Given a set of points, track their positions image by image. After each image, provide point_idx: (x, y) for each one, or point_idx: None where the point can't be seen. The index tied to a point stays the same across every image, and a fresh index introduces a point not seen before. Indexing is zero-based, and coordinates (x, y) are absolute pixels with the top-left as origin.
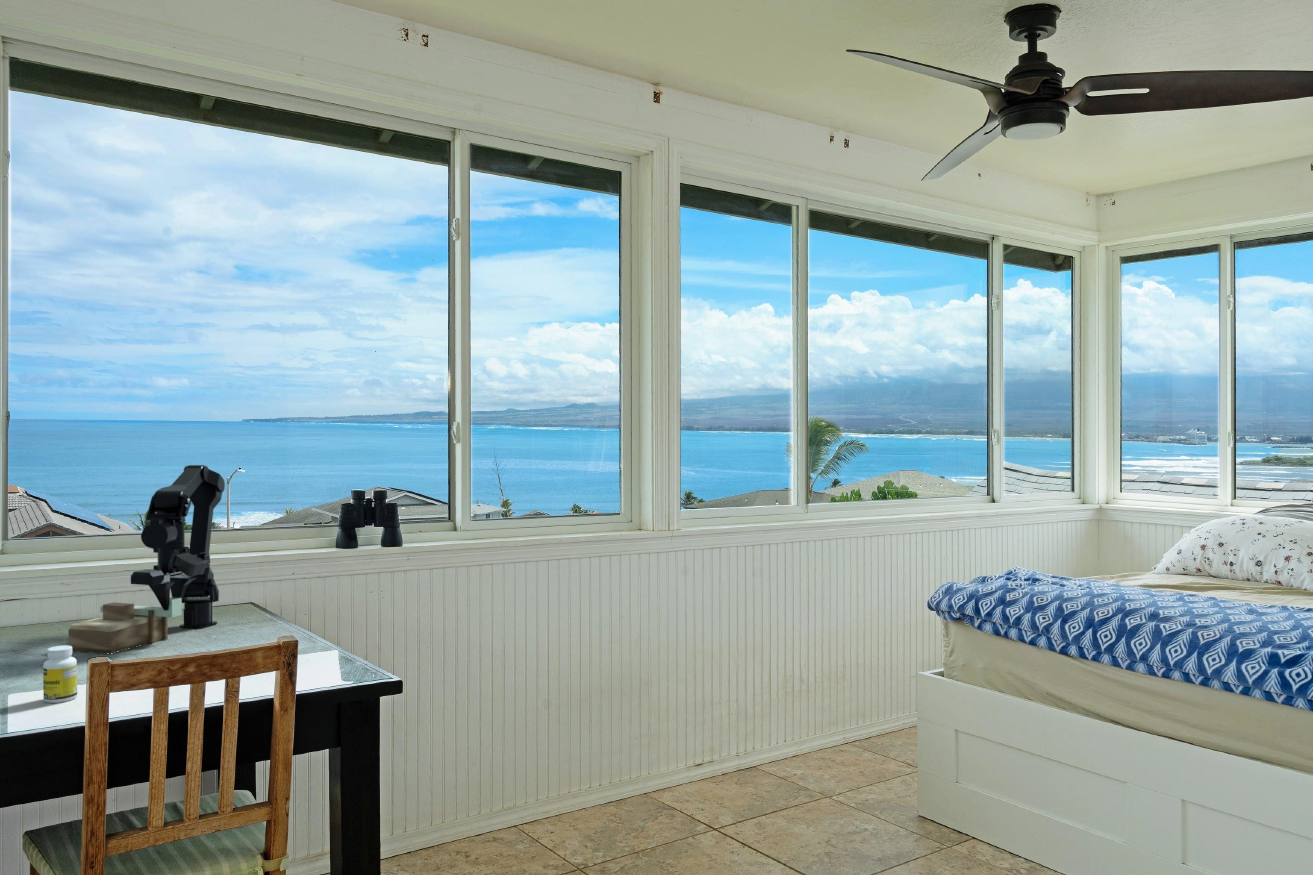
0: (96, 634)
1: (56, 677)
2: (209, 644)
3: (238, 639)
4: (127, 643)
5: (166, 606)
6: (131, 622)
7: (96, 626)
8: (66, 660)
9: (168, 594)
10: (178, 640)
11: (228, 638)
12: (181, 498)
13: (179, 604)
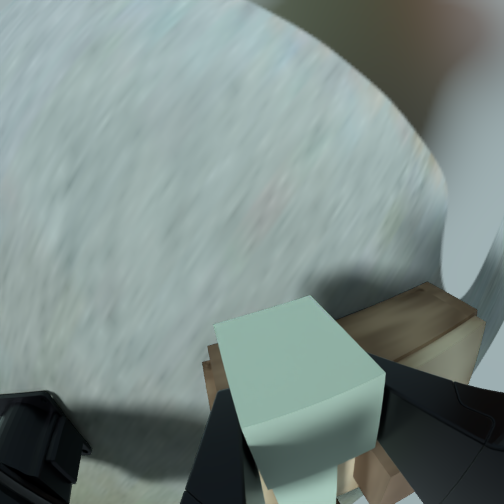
0: None
1: None
2: (168, 88)
3: (43, 75)
4: (390, 313)
5: (375, 358)
6: (417, 366)
7: (472, 371)
8: None
9: (454, 407)
10: (191, 294)
11: (46, 130)
12: None
13: (258, 372)
